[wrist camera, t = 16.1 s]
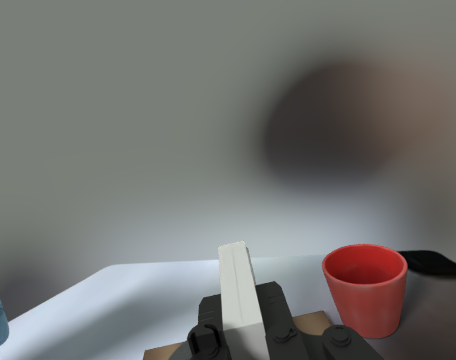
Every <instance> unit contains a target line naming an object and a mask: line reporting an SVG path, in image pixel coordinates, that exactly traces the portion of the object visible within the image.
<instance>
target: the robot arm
mask: <svg viewBox="0 0 456 360" xmlns="http://www.w3.org/2000/svg"><path fill="white" fill-rule="evenodd" d="M219 266H220V284H221V294H218V295H213V296H209V297H204V298H203V299H202V301H201V303H200V304H199V313H198V314H199V315H198V325H197V326H195V327H194V328H192V330H191V331H190V332H189V334H188V337H187V340H188V343H189V347H190V350H191V353H192V357H191V358H190V359H189V360H384V359H383V358H382V357H381V356H380V355H379V354H378V353H377V352H376V351H375V350H374V349H373V348H372V347H371V346H370V345H369V344H368V343H367V342H366V341H365V340H364V339H363V338H362V337H361V336H360V335H359V334H358V333H357V332H356V331H355V330H353V329H352V328H351V327H348V326H345V325H334V326H330V327H328V328H327V329H325V330H324V332H323V334H322V335H311V334H307V333H304V332H302V331H300V330H299V329H298V328H297V327H296V326H295V324H294V321H293V318H292V316H291V313H290V310H289V307H288V305H287V302H286V299H285V296H284V294H283V291H282V288H281V286H280V285H278V284H277V283H276V282H275V281H273V282H269V283H264V284H260V285H255V286H254V281H253V277H252V273H251V268H250V264H249V260H248V255H247V251H246V246H245V242H244V241H240V242H235V243H231V244H226V245H222V246H219ZM8 336H9V326H8V322H7V319H6V316H5V313H4V310H3V309H2V305H1V300H0V346H1V345H2V344H3V343H4V342H5V341H6V340H7V338H8Z"/></svg>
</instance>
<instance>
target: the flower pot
mask: <svg viewBox="0 0 456 360" xmlns="http://www.w3.org/2000/svg"><path fill="white" fill-rule="evenodd" d="M322 269H323V272H324V275H325V278H326V280H327V283H328V286H329V288H330V291H331V294H332V297H333V299H334V302H335V304H336V307H337V309H338V312H339V314H340V317H341V319H342V322H343V324H344V325H345V326H348V327H351V328H352V329H353V330H355V331H356V332H357V333H358V334H359V335H360V336H362V337H365V338H383V337H387V336H389V335H391V334H392V333H394V332H395V331H396V329H397V328H398V325H399V320H400V315H401V310H402V304H403V298H404V292H405V285H406V277H407V262H406V260H405V259H404V257H403V256H402V255H400V254H399V253H398V252H396V251H394V250H392V249H389V248H386V247H383V246H378V245H371V244H357V245H349V246H345V247H341V248H339V249H336V250H334V251H332V252H331V253H329V254H328V255H327V256H326V257H325V258H324V260H323V263H322Z"/></svg>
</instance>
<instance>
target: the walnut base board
mask: <svg viewBox="0 0 456 360" xmlns="http://www.w3.org/2000/svg"><path fill="white" fill-rule="evenodd" d="M292 318H293V321H294V324H295V326H296V327H297V328H298V329H299V330H300V331H302V332H304V333H307V334H311V335H322V334H323V332H324V330H325V329H327V328H328V327H330V326H331V324H330V322H329V320H328V319H327V317H326V315H325V313H324V311H319V312H314V313H310V314H306V315H301V316H297V317H292ZM183 343H184V342H181V343H177V344H172V345H168V346H163V347H159V348H154V349H150V350H146V351H145V353H144V357H143V360H168V359H169V357H170V356H171V355H172V354H173V353H174V351H175V350H176V349H177V348H178V347H179V346H180V345H181V344H183Z"/></svg>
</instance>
